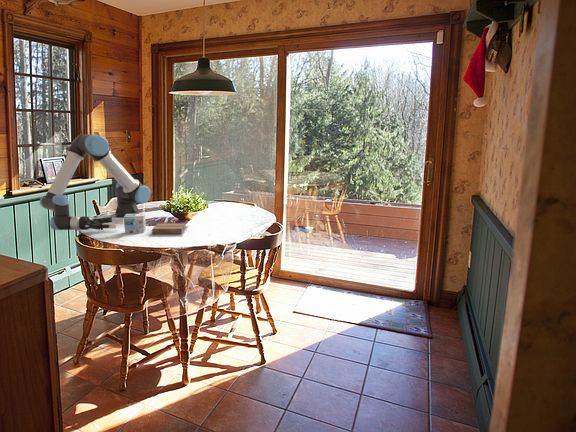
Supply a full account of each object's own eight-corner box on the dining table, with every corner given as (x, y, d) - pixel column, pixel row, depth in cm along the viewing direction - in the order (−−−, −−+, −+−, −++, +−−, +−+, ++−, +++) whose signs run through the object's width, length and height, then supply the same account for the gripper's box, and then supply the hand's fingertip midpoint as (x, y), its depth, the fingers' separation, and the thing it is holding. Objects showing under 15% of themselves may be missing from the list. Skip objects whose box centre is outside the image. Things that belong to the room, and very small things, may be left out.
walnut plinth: (158, 228, 242) (157, 223, 241) (185, 228, 243) (185, 223, 242) (152, 234, 228) (152, 229, 227) (181, 234, 229) (181, 229, 229)
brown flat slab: (158, 227, 247) (158, 226, 246) (188, 227, 248) (188, 226, 248) (148, 238, 223) (148, 236, 223) (181, 238, 225) (181, 236, 225)
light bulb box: (124, 235, 230) (123, 216, 228) (126, 231, 236) (125, 213, 234) (144, 234, 232) (143, 215, 230) (146, 231, 238) (145, 213, 236)
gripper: (90, 224, 243) (126, 224, 245) (71, 235, 219) (112, 235, 221) (89, 211, 242) (126, 211, 243) (70, 221, 217) (111, 221, 219)
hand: (119, 223), depth 232 cm, fingers open, 13 cm apart
